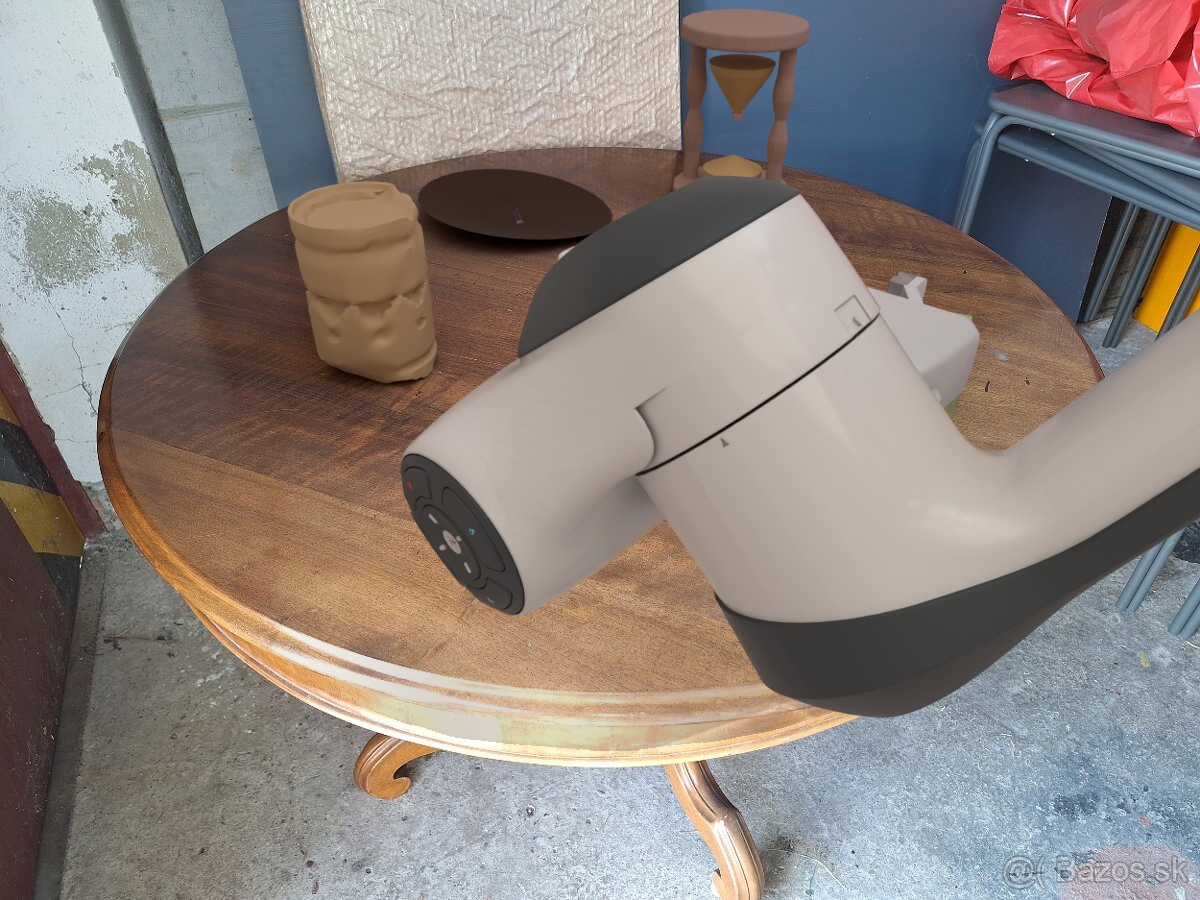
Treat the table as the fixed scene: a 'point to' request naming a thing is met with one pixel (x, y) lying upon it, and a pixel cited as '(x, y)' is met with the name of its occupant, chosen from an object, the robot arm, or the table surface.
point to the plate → (514, 204)
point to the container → (366, 279)
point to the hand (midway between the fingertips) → (832, 263)
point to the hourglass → (740, 81)
